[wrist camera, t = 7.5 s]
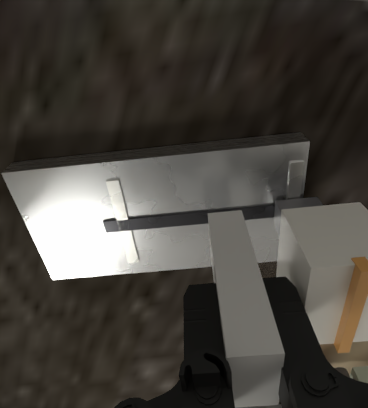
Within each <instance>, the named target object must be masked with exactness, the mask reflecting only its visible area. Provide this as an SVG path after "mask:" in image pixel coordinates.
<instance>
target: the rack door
mask: <svg viewBox="0 0 368 408" xmlns="http://www.w3.org/2000/svg"><path fill="white" fill-rule="evenodd" d="M335 369H336V370H337V371H338V372H340V373H341V374H343V375H345V376H347V377H349V378H351V379H354V380H357V381H361V382H365V383H368V366H362V367H352V370H351V373H350V376H349V373H348V371H347V369H346V368H343V367H337V368H335Z"/></svg>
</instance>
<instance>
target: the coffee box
mask: <svg viewBox="0 0 368 408" xmlns="http://www.w3.org/2000/svg"><path fill="white" fill-rule="evenodd" d="M236 408H282V406H281V404H279V405H269V406H252V407H236Z"/></svg>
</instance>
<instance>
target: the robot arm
mask: <svg viewBox="0 0 368 408" xmlns="http://www.w3.org/2000/svg"><path fill="white" fill-rule="evenodd" d="M208 225H209V238H210V250H211V262H212V270H213V278H214V283H210V284H198V285H189V286H188V288H187V291H186V293H185V295H184V361H183V363H182V364H181V367H180V372H179V378H180V380H179V381H178V383H177V384H176V385H175V386H174V387H173V388H172V389H171V390H169V391H168V392H166V393H164V394H162V395H160V396H158V397H156V398H153V399H151V400H149V401H145V400H143V399H141V398H129V399H126V400H124V401H122V402H120V403H119V404H118V405H117V406H116V407H115V408H236V407H252V406H269V405H279V398H280V402H281V406H282V408H368V383H365V382H361V381H357V380H354V379H351V378H349V377H347V376H345V375H343V374H341V373H340V372H338V371H337V370H336V369H335V368H334V367H333V366H332V365H331V364H330V363H329V362H328V361H327V359H326V357H325V355H324V354H323V351H322V349H321V346H320V344H319V342H318V339H317V337H316V334H315V332H314V330H313V327H312V325H311V322H310V320H309V317H308V315H307V313H306V310H305V308H304V305H303V303H302V302H301V298H300V296H299V293H298V291H297V288H296V287H295V286H294V285H293V284H292V283H291V282H290V280H289V279H288V278H287V277H273V278H262V276H261V273H260V269H259V266H258V263H257V259H256V256H255V253H254V249H253V246H252V243H251V239H250V236H249V233H248V230H247V226H246V223H245V220H244V216H243V213H242V210H237V211H227V212H216V213H208Z"/></svg>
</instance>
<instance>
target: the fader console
mask: <svg viewBox="0 0 368 408" xmlns="http://www.w3.org/2000/svg"><path fill="white" fill-rule="evenodd" d="M309 146H310V141H309V140H308V139H307V138H306V137H305V136H304V135H303V134H302V133H301V132H296V133H287V134H277V135H268V136H258V137H248V138H239V139H229V140H220V141H210V142H200V143H191V144H181V145H172V146H162V147H152V148H143V149H133V150H124V151H114V152H105V153H95V154H85V155H76V156H66V157H57V158H47V159H37V160H28V161H18V162H13V163H11V164H10V165H9V166H8V167H7V168H6V169H5V170H4V171H3V172H2V173H1V174H2V176H3V178H4V180H5V183H6V185H7V187H8V189H9V191H10V193H11V195H12V197H13V199H14V201H15V203H16V205H17V207H18V210H19V212H20V214H21V216H22V218H23V220H24V222H25V224H26V226H27V228H28V230H29V232H30V235H31V237H32V239H33V241H34V243H35V245H36V247H37V249H38V251H39V253H40V255H41V257H42V259H43V262H44V264H45V266H46V268H47V270H48V272H49V274H50V276H51V278H52V280H59V279H71V278H83V277H94V276H106V275H118V274H130V273H142V272H154V271H166V270H177V269H189V268H201V267H212V262H211V250H210V238H209V225H208V213H216V212H227V211H237V210H242V213H243V216H244V220H245V223H246V226H247V230H248V233H249V236H250V239H251V243H252V246H253V249H254V253H255V256H256V259H257V263H261V262H272V261H277V259H278V247H279V235H278V233H277V231H276V228H275V226H274V211H275V201H278V200H289V199H300V198H303V194H304V186H305V178H306V170H307V162H308V154H309Z"/></svg>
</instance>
